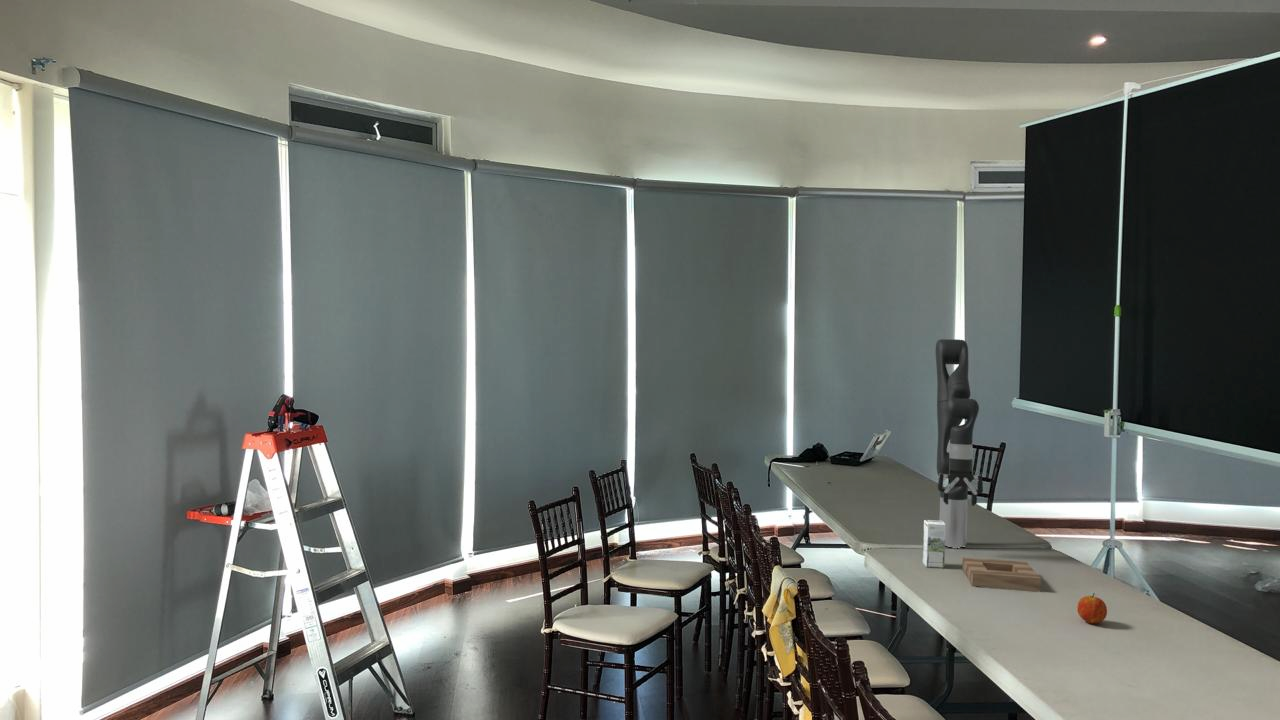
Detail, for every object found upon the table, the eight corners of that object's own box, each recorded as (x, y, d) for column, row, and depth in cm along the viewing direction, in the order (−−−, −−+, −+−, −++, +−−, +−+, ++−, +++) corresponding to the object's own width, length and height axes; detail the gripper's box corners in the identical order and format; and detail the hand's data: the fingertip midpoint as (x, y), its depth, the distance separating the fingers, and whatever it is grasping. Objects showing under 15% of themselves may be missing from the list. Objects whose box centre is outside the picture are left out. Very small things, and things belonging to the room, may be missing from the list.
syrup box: (940, 563, 287) (941, 519, 286) (944, 568, 281) (946, 523, 281) (922, 562, 287) (923, 519, 287) (926, 567, 282) (927, 523, 281)
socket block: (962, 569, 280) (962, 557, 280) (1025, 574, 276) (1026, 561, 276) (972, 586, 262) (972, 573, 261) (1040, 591, 258) (1040, 578, 258)
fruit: (1070, 619, 232) (1071, 590, 232) (1090, 617, 235) (1091, 587, 235) (1092, 628, 226) (1093, 597, 226) (1112, 625, 228) (1114, 595, 228)
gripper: (980, 456, 300) (979, 504, 300) (937, 455, 303) (936, 501, 303) (985, 459, 293) (984, 507, 293) (940, 457, 296) (939, 505, 296)
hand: (959, 504), depth 298 cm, fingers open, 8 cm apart
